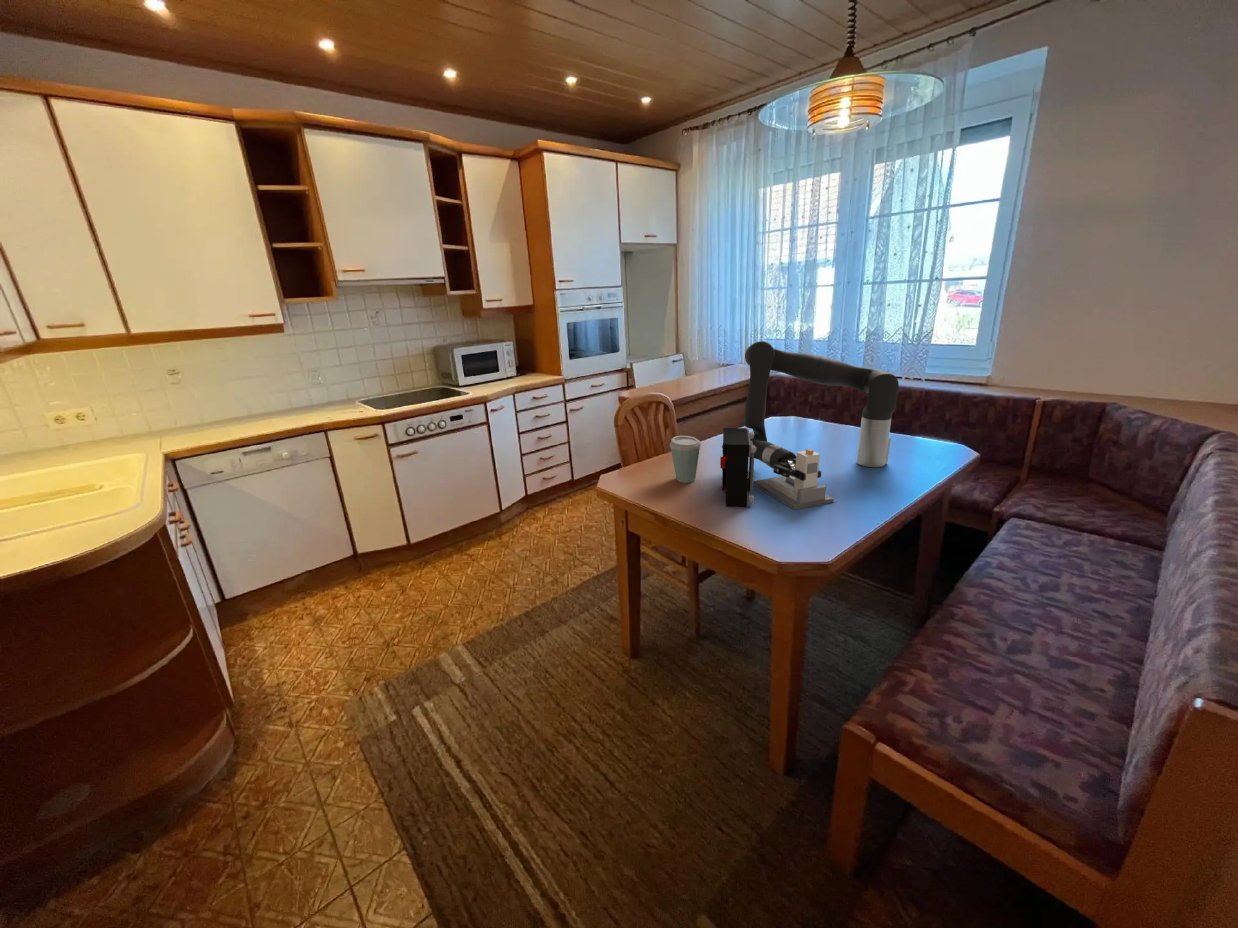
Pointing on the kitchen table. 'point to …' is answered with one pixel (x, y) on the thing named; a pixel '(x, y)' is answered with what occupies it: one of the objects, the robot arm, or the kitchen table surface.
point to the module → (807, 469)
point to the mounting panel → (785, 492)
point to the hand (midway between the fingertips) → (812, 476)
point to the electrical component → (737, 466)
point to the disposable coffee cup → (685, 457)
